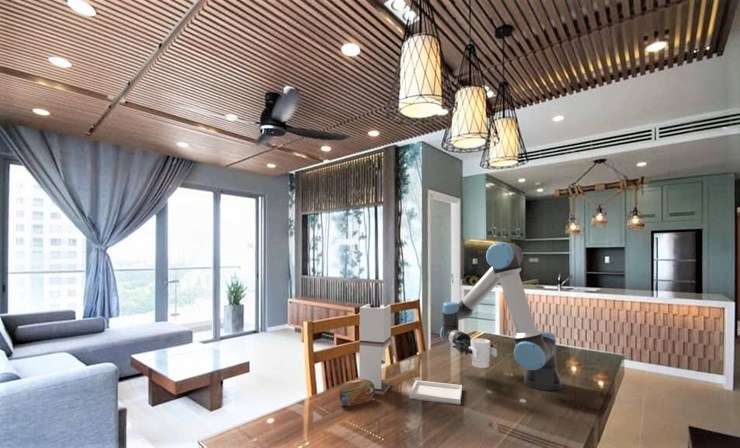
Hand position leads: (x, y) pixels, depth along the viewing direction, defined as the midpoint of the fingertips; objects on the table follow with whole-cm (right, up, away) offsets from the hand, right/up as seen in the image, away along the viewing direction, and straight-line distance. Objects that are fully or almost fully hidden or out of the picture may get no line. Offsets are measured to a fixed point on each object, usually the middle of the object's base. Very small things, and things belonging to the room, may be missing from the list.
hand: (486, 353), depth 145 cm
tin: (-52, -18, -3) cm, 55 cm away
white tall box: (-44, -19, +12) cm, 50 cm away
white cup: (-1, -7, +4) cm, 8 cm away
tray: (-19, -19, +5) cm, 27 cm away
